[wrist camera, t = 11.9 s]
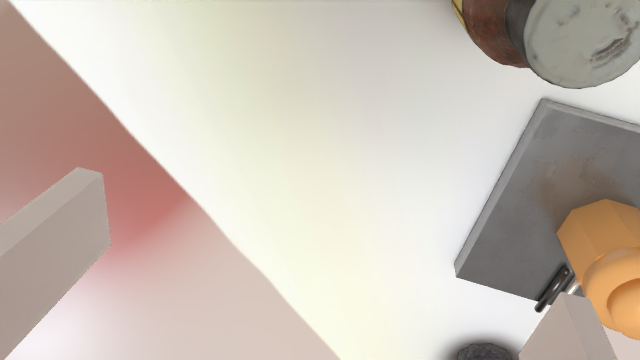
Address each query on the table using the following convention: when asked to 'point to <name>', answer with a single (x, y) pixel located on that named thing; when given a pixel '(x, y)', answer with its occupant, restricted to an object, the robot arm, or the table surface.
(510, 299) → the table surface
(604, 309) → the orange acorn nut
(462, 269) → the junction plate
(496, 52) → the sauce bottle
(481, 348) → the mortar and pestle
